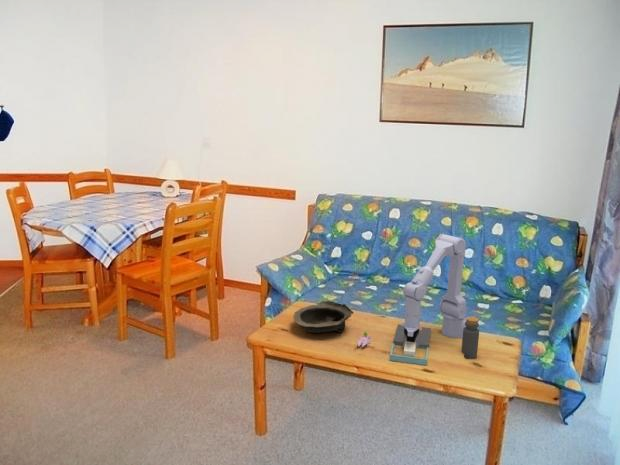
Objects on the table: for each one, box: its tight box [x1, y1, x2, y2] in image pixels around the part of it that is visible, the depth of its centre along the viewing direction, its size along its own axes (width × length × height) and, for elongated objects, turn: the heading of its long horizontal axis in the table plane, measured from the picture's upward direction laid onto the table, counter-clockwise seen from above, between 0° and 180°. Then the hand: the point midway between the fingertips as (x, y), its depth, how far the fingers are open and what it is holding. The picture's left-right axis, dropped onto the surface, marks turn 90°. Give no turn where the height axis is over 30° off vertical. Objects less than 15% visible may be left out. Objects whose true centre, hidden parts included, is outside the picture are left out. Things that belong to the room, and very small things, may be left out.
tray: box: [389, 343, 430, 367], centre depth 207 cm, size 14×12×2 cm
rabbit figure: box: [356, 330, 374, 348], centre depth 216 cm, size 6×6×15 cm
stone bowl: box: [292, 300, 354, 334], centre depth 231 cm, size 25×25×9 cm
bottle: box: [461, 316, 480, 360], centre depth 208 cm, size 6×6×15 cm
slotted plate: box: [392, 323, 432, 350], centre depth 221 cm, size 14×18×3 cm
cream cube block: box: [405, 341, 417, 352], centre depth 208 cm, size 4×4×4 cm
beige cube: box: [403, 345, 417, 357], centre depth 204 cm, size 4×4×4 cm
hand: (410, 346), depth 211 cm, fingers closed
